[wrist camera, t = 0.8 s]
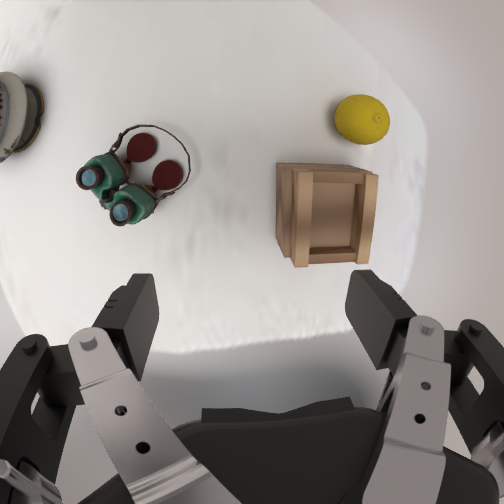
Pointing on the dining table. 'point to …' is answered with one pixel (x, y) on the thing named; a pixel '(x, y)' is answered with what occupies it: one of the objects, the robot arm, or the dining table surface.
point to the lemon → (362, 119)
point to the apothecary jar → (18, 114)
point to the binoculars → (117, 173)
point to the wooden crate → (325, 213)
